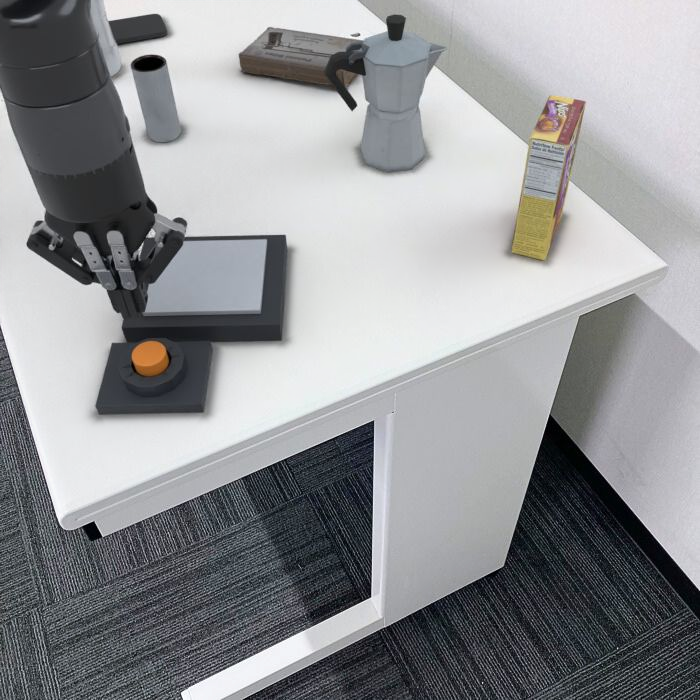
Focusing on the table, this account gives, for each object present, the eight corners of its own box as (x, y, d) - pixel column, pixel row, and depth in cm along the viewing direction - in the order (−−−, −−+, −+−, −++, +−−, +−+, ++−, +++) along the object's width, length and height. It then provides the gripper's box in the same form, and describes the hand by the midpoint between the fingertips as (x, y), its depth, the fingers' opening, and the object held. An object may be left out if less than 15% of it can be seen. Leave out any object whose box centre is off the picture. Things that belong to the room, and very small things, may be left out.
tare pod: (98, 414, 70) (90, 395, 68) (115, 351, 76) (107, 331, 73) (203, 412, 70) (198, 393, 68) (213, 349, 76) (208, 329, 73)
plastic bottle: (99, 59, 116) (59, -80, 101) (134, 68, 114) (99, -73, 99) (72, 78, 112) (27, -64, 97) (107, 88, 110) (67, -56, 95)
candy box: (526, 208, 90) (549, 92, 79) (562, 216, 89) (590, 100, 77) (507, 253, 85) (529, 136, 73) (544, 262, 83) (572, 145, 72)
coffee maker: (430, 129, 102) (440, -4, 88) (447, 166, 96) (460, 29, 82) (323, 141, 100) (316, 8, 87) (333, 180, 94) (328, 43, 81)
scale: (126, 344, 76) (119, 323, 74) (149, 253, 86) (143, 233, 83) (281, 340, 76) (279, 320, 74) (287, 251, 86) (285, 230, 83)
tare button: (132, 377, 70) (128, 366, 69) (138, 351, 72) (134, 341, 71) (166, 376, 70) (163, 365, 69) (171, 351, 72) (168, 340, 71)
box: (344, 91, 107) (344, 71, 105) (239, 73, 112) (236, 53, 110) (371, 59, 114) (371, 39, 112) (271, 43, 119) (269, 24, 117)
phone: (167, 31, 120) (73, 47, 117) (168, 36, 121) (75, 52, 118) (159, 12, 125) (68, 27, 122) (160, 17, 126) (69, 32, 122)
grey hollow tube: (169, 121, 104) (153, 50, 96) (187, 134, 102) (173, 62, 94) (141, 133, 102) (123, 62, 94) (159, 146, 100) (142, 75, 92)
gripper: (-35, 173, 50) (48, 345, 63) (160, 169, 50) (203, 341, 63) (-1, 114, 55) (69, 284, 68) (176, 109, 55) (213, 281, 68)
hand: (134, 311), depth 65 cm, fingers closed
